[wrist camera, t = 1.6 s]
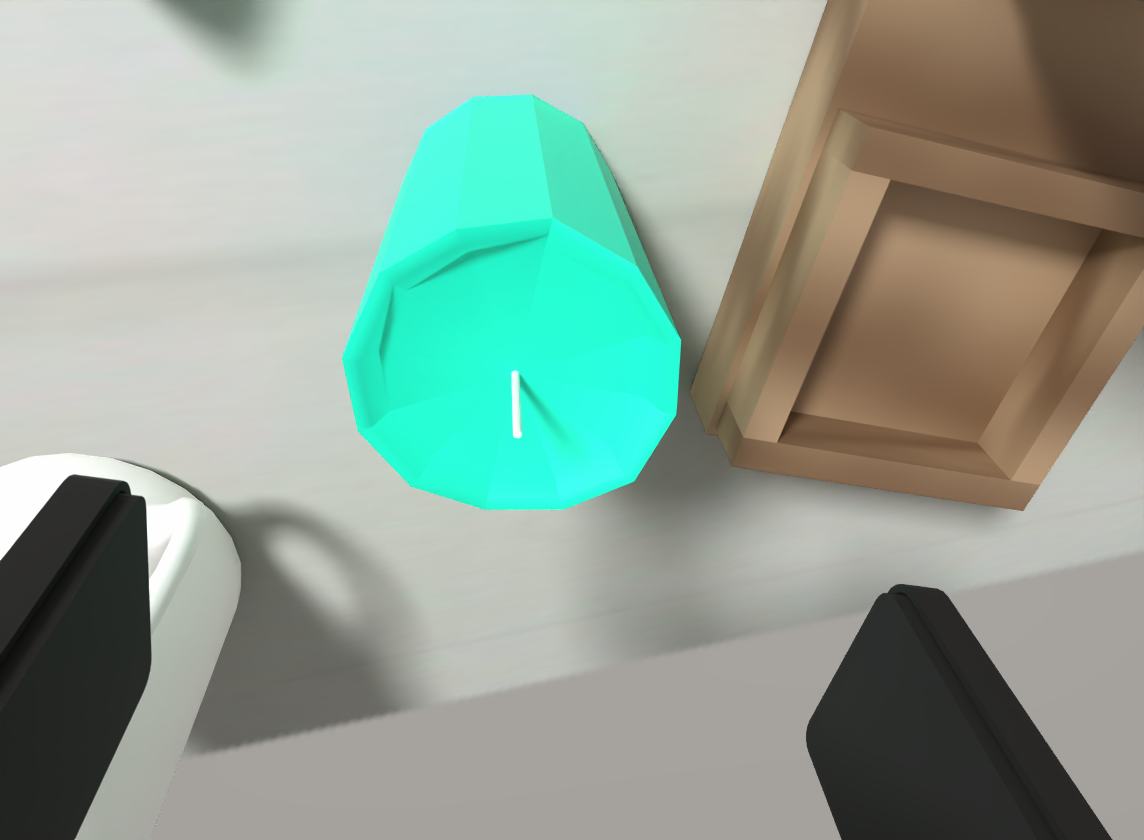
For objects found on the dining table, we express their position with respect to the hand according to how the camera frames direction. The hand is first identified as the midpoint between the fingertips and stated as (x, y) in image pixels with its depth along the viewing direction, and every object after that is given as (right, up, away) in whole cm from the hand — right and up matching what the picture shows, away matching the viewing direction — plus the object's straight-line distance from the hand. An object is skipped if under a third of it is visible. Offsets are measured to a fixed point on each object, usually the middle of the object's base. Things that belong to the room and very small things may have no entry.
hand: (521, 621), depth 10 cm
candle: (-1, +9, +13) cm, 16 cm away
